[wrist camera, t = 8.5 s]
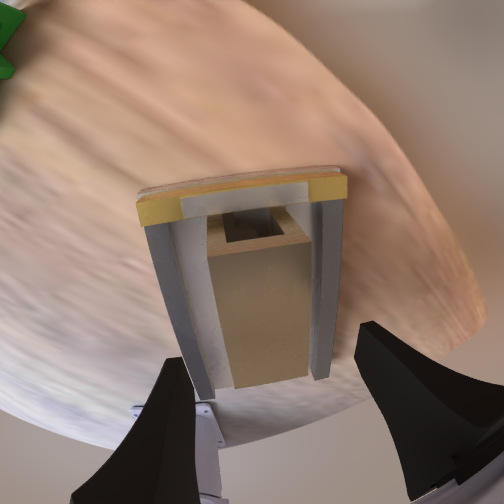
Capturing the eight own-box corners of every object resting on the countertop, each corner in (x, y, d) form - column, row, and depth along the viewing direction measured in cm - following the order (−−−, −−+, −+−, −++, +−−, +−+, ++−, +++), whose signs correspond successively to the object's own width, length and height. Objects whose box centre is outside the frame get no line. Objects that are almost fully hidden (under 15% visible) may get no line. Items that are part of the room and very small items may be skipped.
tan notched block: (206, 214, 15) (206, 257, 11) (281, 203, 15) (311, 241, 11) (227, 329, 19) (235, 388, 14) (286, 319, 19) (307, 375, 15)
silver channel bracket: (324, 359, 23) (335, 382, 21) (196, 381, 22) (196, 407, 20) (333, 165, 16) (354, 174, 13) (140, 190, 15) (128, 203, 12)
